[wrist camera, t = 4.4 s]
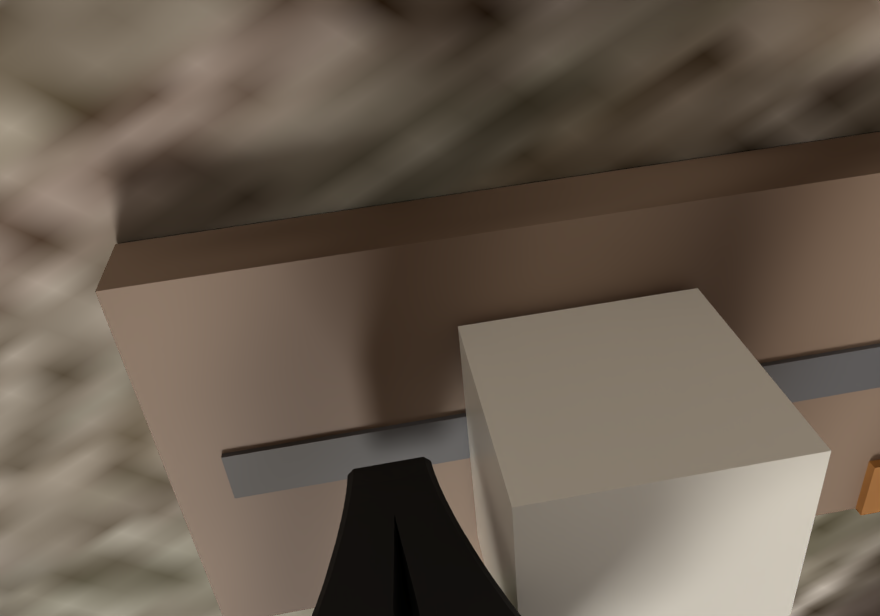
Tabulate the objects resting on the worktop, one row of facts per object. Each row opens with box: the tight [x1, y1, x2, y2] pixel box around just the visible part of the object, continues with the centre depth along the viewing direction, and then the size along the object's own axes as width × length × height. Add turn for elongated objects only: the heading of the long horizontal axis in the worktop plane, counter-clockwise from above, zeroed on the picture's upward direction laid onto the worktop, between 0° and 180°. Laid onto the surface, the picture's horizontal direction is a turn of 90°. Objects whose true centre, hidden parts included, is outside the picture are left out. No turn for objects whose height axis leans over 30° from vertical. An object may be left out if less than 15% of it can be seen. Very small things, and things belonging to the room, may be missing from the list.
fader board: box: [95, 132, 880, 616], centre depth 15 cm, size 21×8×2 cm, turn 95°
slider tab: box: [458, 288, 831, 616], centre depth 12 cm, size 4×5×4 cm
